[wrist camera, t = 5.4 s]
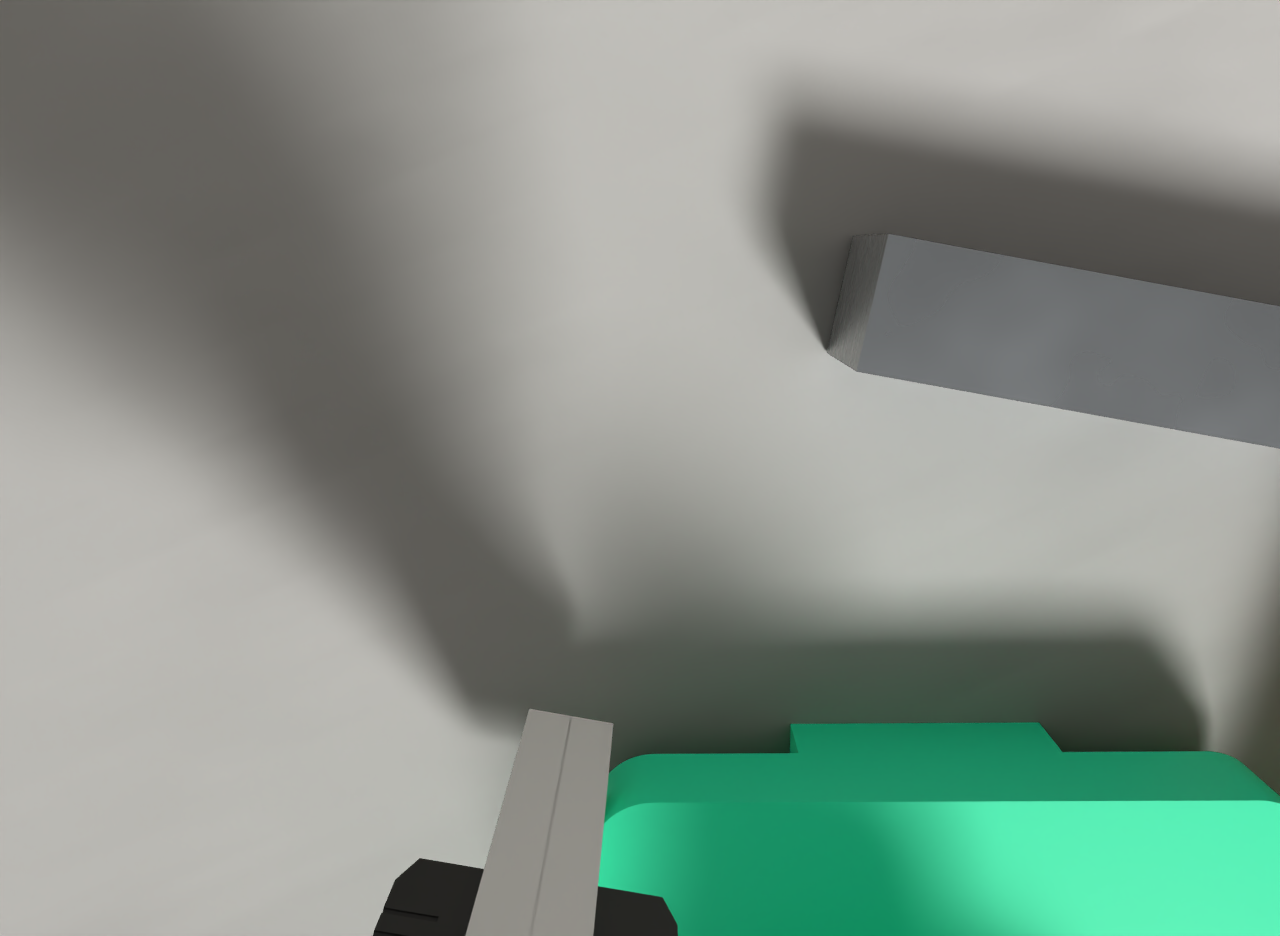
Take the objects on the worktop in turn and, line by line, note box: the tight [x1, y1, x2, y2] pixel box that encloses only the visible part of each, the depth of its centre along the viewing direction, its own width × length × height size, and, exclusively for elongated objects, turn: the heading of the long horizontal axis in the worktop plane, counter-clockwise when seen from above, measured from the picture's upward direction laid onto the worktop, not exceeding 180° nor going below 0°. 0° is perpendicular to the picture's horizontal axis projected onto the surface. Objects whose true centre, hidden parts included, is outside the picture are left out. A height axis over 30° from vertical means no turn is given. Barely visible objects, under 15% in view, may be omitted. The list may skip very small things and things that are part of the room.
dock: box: [827, 234, 1280, 448], centre depth 17 cm, size 13×20×4 cm, turn 170°
